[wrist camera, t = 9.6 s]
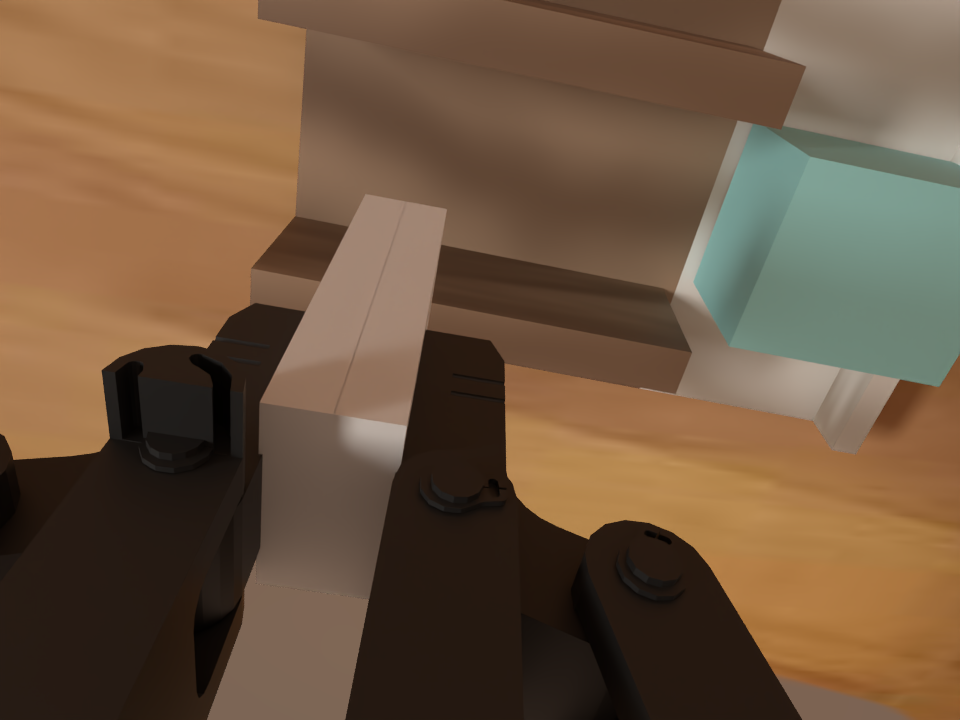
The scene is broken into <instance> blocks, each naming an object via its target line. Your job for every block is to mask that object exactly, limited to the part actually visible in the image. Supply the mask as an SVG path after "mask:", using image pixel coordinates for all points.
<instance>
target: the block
mask: <svg viewBox="0 0 960 720" xmlns="http://www.w3.org/2000/svg"><path fill="white" fill-rule="evenodd" d="M693 283H694V285H695V287H696V288H697V290H698V292H699V294H700V296H701V297H702V299H703V301H704V303H705V304H706V306H707V308H708V310H709V312H710V313H711V315H712V317H713V319H714V321H715V322H716V324H717V326H718V328H719V330H720V331H721V333H722V335H723V337H724V338H725V340H726V342H727V344H728V346H729V347H734V348H739V349H745V350H750V351H755V352H760V353H765V354H771V355H776V356H781V357H786V358H791V359H797V360H802V361H807V362H812V363H817V364H823V365H828V366H833V367H838V368H843V369H849V370H854V371H859V372H864V373H869V374H875V375H880V376H885V377H890V378H896V379H901V380H906V381H911V382H916V383H922V384H927V385H932V386H937V387H939V386H940V385H941V383H942V381H943V380H944V378H945V377H946V375H947V373H948V372H949V370H950V369H951V367H952V365H953V364H954V362H955V361H956V359H957V357H958V356H959V354H960V165H958V164H956V163H953V162H950V161H945V160H941V159H936V158H931V157H927V156H922V155H917V154H913V153H908V152H903V151H898V150H894V149H889V148H884V147H880V146H875V145H870V144H866V143H861V142H856V141H852V140H847V139H842V138H837V137H833V136H828V135H823V134H819V133H814V132H809V131H805V130H800V129H795V128H790V127H786V126H782V129H781V130H780V129H775V128H771V127H766V126H761V125H756V124H753V125H752V128H751V131H750V133H749V136H748V139H747V141H746V144H745V146H744V149H743V152H742V154H741V157H740V160H739V162H738V165H737V168H736V170H735V173H734V176H733V178H732V181H731V184H730V186H729V189H728V191H727V194H726V197H725V199H724V202H723V205H722V207H721V210H720V213H719V215H718V218H717V221H716V223H715V226H714V229H713V231H712V234H711V236H710V239H709V242H708V244H707V247H706V250H705V252H704V255H703V258H702V260H701V263H700V266H699V268H698V271H697V273H696V276H695V279H694V281H693Z"/></svg>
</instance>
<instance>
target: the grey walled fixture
mask: <svg viewBox="0 0 960 720" xmlns="http://www.w3.org/2000/svg"><path fill="white" fill-rule="evenodd" d="M258 19H262V20H267V21H272V22H276V23H281V24H286V25H291V26H295V27H300V28H305V29H307V30H306V47H305V64H304V81H303V98H302V115H301V132H300V149H299V166H298V183H297V199H296V216H295V217H294V219H293V220H292V221H291V222H290V223H289V224H288V226H287V227H286V228H285V229H284V230H283V232H282V233H281V234H280V235H279V236H278V237H277V239H276V240H275V241H274V242H273V243H272V245H271V246H270V247H269V248H268V249H267V250H266V252H265V253H264V254H263V255H262V256H261V257H260V259H259V260H258V261H257V262H256V263H255V265H254V266H253V267H252V268H251V296H250V305H252V304H254V303H259V304H265V305H271V306H277V307H282V308H288V309H294V310H300V311H306V310H307V308H308V306H309V304H310V302H311V300H312V298H313V296H314V294H315V292H316V290H317V288H318V286H319V285H320V283H321V281H322V279H323V277H324V275H325V273H326V271H327V269H328V267H329V265H330V263H331V261H332V259H333V257H334V255H335V253H336V251H337V249H338V247H339V245H340V243H341V241H342V239H343V237H344V235H345V233H346V231H347V229H348V227H349V225H350V223H351V222H352V220H353V218H354V216H355V214H356V212H357V210H358V208H359V206H360V204H361V202H362V200H363V198H364V196H365V194H368V195H374V196H379V197H384V198H390V199H395V200H401V201H406V202H411V203H417V204H422V205H428V206H433V207H439V208H444V209H447V212H446V218H445V224H444V230H443V236H442V242H441V248H440V254H439V260H438V267H437V273H436V279H435V285H434V291H433V297H432V303H431V309H430V315H429V321H428V327H427V330H432V331H437V332H443V333H449V334H455V335H461V336H467V337H473V338H478V339H484V340H490V341H491V342H492V343H493V345H494V346H495V348H496V349H497V351H498V352H499V354H500V355H501V357H502V358H503V360H504V363H506V364H512V365H517V366H522V367H528V368H533V369H538V370H544V371H549V372H554V373H560V374H565V375H570V376H576V377H581V378H586V379H592V380H597V381H603V382H608V383H613V384H619V385H624V386H629V387H635V388H640V389H645V390H651V391H656V392H661V393H667V394H672V395H677V396H683V397H688V398H693V399H699V400H704V401H710V402H715V403H720V404H726V405H731V406H736V407H742V408H747V409H752V410H758V411H763V412H768V413H774V414H779V415H784V416H790V417H795V418H800V419H806V420H811V421H813V422H814V424H815V425H816V427H817V428H818V430H819V431H820V433H821V434H822V436H823V437H824V439H825V440H826V442H827V443H828V445H829V447H830V448H831V450H835V451H840V452H845V453H851V454H856V453H857V451H858V450H859V448H860V446H861V445H862V443H863V441H864V440H865V438H866V436H867V434H868V433H869V431H870V429H871V428H872V426H873V424H874V423H875V421H876V419H877V417H878V416H879V414H880V412H881V411H882V409H883V407H884V405H885V404H886V402H887V400H888V399H889V397H890V395H891V394H892V392H893V390H894V388H895V387H896V385H897V383H898V382H899V380H900V379H896V378H890V377H885V376H880V375H875V374H869V373H864V372H859V371H854V370H849V369H843V368H838V367H833V366H828V365H823V364H817V363H812V362H807V361H802V360H797V359H791V358H786V357H781V356H776V355H771V354H765V353H760V352H755V351H750V350H745V349H739V348H734V347H729V346H728V344H727V342H726V340H725V338H724V337H723V335H722V333H721V331H720V330H719V328H718V326H717V324H716V322H715V321H714V319H713V317H712V315H711V313H710V312H709V310H708V308H707V306H706V304H705V303H704V301H703V299H702V297H701V296H700V294H699V292H698V290H697V288H696V287H695V285H694V283H693V281H694V279H695V276H696V273H697V271H698V268H699V266H700V263H701V260H702V258H703V255H704V252H705V250H706V247H707V244H708V242H709V239H710V236H711V234H712V231H713V229H714V226H715V223H716V221H717V218H718V215H719V213H720V210H721V207H722V205H723V202H724V199H725V197H726V194H727V191H728V189H729V186H730V184H731V181H732V178H733V176H734V173H735V170H736V168H737V165H738V162H739V160H740V157H741V154H742V152H743V149H744V146H745V144H746V141H747V139H748V136H749V133H750V131H751V128H752V125H753V124H756V125H761V126H766V127H771V128H775V129H780V130H781V129H782V126H786V127H790V128H795V129H800V130H805V131H809V132H814V133H819V134H823V135H828V136H833V137H837V138H842V139H847V140H852V141H856V142H861V143H866V144H870V145H875V146H880V147H884V148H889V149H894V150H898V151H903V152H908V153H913V154H917V155H922V156H927V157H931V158H936V159H941V160H945V161H950V162H953V163H956V164H958V165H960V0H258Z"/></svg>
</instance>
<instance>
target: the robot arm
mask: <svg viewBox="0 0 960 720" xmlns="http://www.w3.org/2000/svg"><path fill="white" fill-rule="evenodd" d="M446 212H447V209H444V208H439V207H433V206H428V205H422V204H417V203H411V202H406V201H401V200H395V199H390V198H384V197H379V196H374V195H368V194H365V196H364V198H363V200H362V202H361V204H360V206H359V208H358V210H357V212H356V214H355V216H354V218H353V220H352V222H351V223H350V225H349V227H348V229H347V231H346V233H345V235H344V237H343V239H342V241H341V243H340V245H339V247H338V249H337V251H336V253H335V255H334V257H333V259H332V261H331V263H330V265H329V267H328V269H327V271H326V273H325V275H324V277H323V279H322V281H321V283H320V285H319V286H318V288H317V290H316V292H315V294H314V296H313V298H312V300H311V302H310V304H309V306H308V308H307V310H306V311H300V310H294V309H288V308H282V307H277V306H271V305H265V304H259V303H254V304H252V305H250V306H249V307H247V308H245V309H243V310H241V311H240V312H238V313H236V314H234V315H232V316H230V317H229V318H228V320H227V321H226V323H225V324H224V326H223V327H222V328H221V330H220V331H219V333H218V334H217V336H216V339H215V341H214V340H213V341H212V343H211V344H210V346H209V347H208V348H207V349H206V348H202V347H199V346H183V345H166V346H159V347H151V348H144V349H141V350H138V351H136V352H133V353H130V354H127V355H124V356H122V357H119V358H118V359H116V360H115V361H114V362H112V363H111V364H110V365H108V366H107V367H106V368H104V369H103V370H102V377H103V385H104V393H105V401H106V409H107V418H108V426H109V434H110V439H109V440H108V442H107V443H106V444H105V446H104V447H103V448H102V449H101V451H100V452H96V453H92V454H84V455H77V456H67V457H52V458H36V459H21V460H13V456H12V452H11V449H10V447H9V445H8V443H7V441H6V439H5V436H3V435H1V434H0V720H207V718H208V715H209V712H210V709H211V706H212V704H213V701H214V699H215V696H216V693H217V690H218V688H219V685H220V682H221V679H222V677H223V674H224V671H225V669H226V666H227V663H228V660H229V658H230V655H231V652H232V649H233V647H234V644H235V641H236V639H237V636H238V633H239V630H240V628H241V625H242V618H243V611H244V589H245V586H246V583H247V581H248V578H249V576H250V573H251V570H252V567H253V565H254V563H255V560H256V584H263V585H270V586H277V587H285V588H291V589H298V590H307V591H313V592H320V593H327V594H334V595H341V596H348V597H356V598H363V599H369V603H368V608H367V613H366V618H365V623H364V628H363V634H362V638H361V643H360V648H359V653H358V658H357V663H356V669H355V674H354V679H353V684H352V689H351V694H350V699H349V704H348V709H347V714H346V719H345V720H802V719H801V717H800V715H799V714H798V712H797V710H796V709H795V707H794V705H793V704H792V702H791V700H790V699H789V697H788V695H787V694H786V692H785V690H784V689H783V687H782V685H781V684H780V682H779V680H778V679H777V677H776V676H775V674H774V672H773V671H772V669H771V667H770V666H769V664H768V662H767V661H766V659H765V657H764V656H763V654H762V652H761V651H760V649H759V647H758V646H757V644H756V642H755V641H754V639H753V638H752V636H751V634H750V633H749V631H748V629H747V628H746V626H745V624H744V623H743V621H742V619H741V618H740V616H739V614H738V613H737V611H736V609H735V608H734V606H733V605H732V603H731V601H730V600H729V598H728V596H727V595H726V593H725V591H724V590H723V588H722V586H721V585H720V583H719V581H718V580H717V578H716V576H715V575H714V573H713V571H712V570H711V568H710V567H709V565H708V564H707V563H706V562H705V561H704V559H703V558H702V557H701V556H700V555H699V553H698V552H697V551H696V550H695V549H694V548H693V547H692V546H691V545H689V544H688V543H686V542H685V541H684V540H682V539H681V538H679V537H678V536H677V535H675V534H674V533H672V532H670V531H667V530H665V529H662V528H660V527H657V526H655V525H652V524H650V523H644V522H636V521H628V520H623V521H619V522H614V523H609V524H605V525H603V526H602V527H601V528H600V529H598V530H597V531H596V532H594V533H593V534H592V535H591V536H590V539H589V540H588V539H586V538H583V537H581V536H579V535H576V534H574V533H571V532H569V531H566V530H564V529H562V528H559V527H557V526H555V525H553V524H551V523H549V522H547V521H545V520H543V519H541V518H540V517H538V516H537V515H536V514H534V513H533V512H532V511H530V510H529V509H528V508H526V507H525V506H524V505H523V503H522V502H521V501H520V500H519V499H518V498H517V497H516V494H515V491H514V487H513V484H512V482H511V481H510V480H509V479H508V477H507V473H506V433H505V404H504V402H505V386H504V383H505V368H504V360H503V358H502V357H501V355H500V354H499V352H498V351H497V349H496V348H495V346H494V345H493V343H492V342H491V341H490V340H484V339H478V338H473V337H467V336H461V335H455V334H449V333H443V332H437V331H432V330H427V327H428V321H429V315H430V309H431V303H432V297H433V291H434V285H435V279H436V273H437V267H438V260H439V254H440V248H441V242H442V236H443V230H444V224H445V218H446Z"/></svg>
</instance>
